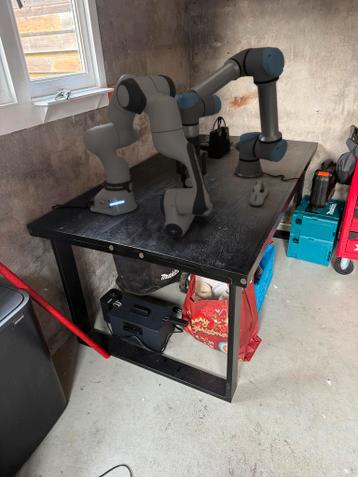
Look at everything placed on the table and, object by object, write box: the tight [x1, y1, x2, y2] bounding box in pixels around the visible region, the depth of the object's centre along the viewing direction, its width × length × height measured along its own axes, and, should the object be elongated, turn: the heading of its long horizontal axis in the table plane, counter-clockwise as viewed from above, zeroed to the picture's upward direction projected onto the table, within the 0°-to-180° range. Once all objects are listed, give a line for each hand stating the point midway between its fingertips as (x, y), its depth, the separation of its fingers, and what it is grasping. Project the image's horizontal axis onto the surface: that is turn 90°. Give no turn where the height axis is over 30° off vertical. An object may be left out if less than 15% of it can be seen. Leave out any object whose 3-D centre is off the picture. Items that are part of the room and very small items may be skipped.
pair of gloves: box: [200, 134, 234, 150], centre depth 250 cm, size 30×26×5 cm
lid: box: [185, 177, 192, 186], centre depth 142 cm, size 6×6×2 cm
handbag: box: [206, 115, 231, 159], centre depth 220 cm, size 21×9×25 cm, turn 148°
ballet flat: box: [249, 179, 269, 207], centre depth 158 cm, size 8×24×8 cm, turn 163°
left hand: (192, 199), depth 147 cm, fingers closed on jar, 4 cm apart
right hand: (191, 189), depth 143 cm, fingers closed on lid, 5 cm apart
